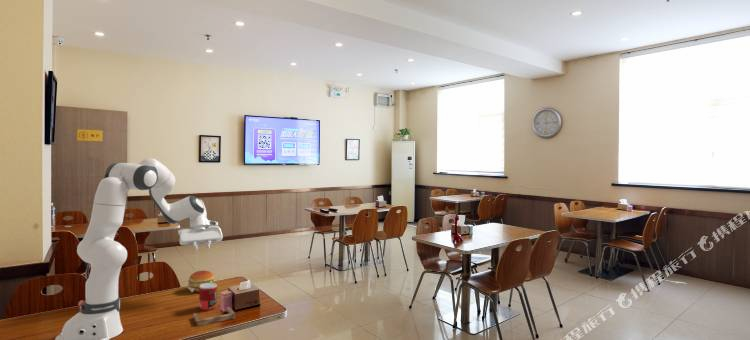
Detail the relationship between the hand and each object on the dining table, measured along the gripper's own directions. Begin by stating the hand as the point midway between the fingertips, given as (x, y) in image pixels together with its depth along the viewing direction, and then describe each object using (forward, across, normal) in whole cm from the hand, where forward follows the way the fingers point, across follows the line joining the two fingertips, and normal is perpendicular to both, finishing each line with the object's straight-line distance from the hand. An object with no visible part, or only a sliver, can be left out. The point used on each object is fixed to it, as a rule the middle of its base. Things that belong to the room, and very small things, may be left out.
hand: (203, 249), depth 205 cm
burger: (+7, +2, +29) cm, 30 cm away
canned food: (+27, 0, +9) cm, 28 cm away
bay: (+36, 0, 0) cm, 36 cm away
